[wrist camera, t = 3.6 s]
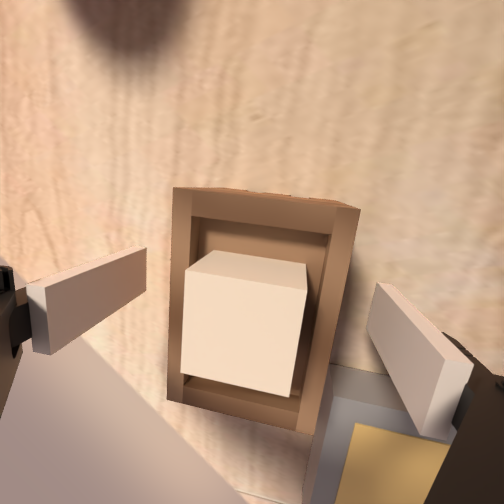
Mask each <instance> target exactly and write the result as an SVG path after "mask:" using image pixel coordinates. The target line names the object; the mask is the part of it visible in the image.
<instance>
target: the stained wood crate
mask: <svg viewBox="0 0 504 504" xmlns="http://www.w3.org/2000/svg"><path fill="white" fill-rule="evenodd" d="M360 211H361V209H358V208H355V207H352V206H349V205H347V204H344V203H341V202H338V201H334V200H326V199H317V198H309V199H307V198H299V197H291V195H282V194H273V193H255V192H248V191H247V190H238V189H229V188H182V187H173V204H172V238H171V272H170V305H169V339H168V372H167V400H170V401H174V402H179V403H183V404H187V405H191V406H195V407H199V408H203V409H207V410H211V411H215V412H219V413H223V414H227V415H231V416H236V417H240V418H244V419H248V420H252V421H256V422H260V423H264V424H268V425H272V426H276V427H280V428H284V429H289V430H293V431H297V432H301V433H305V434H309V435H313V436H314V431H315V427H316V422H317V417H318V412H319V407H320V403H321V398H322V393H323V388H324V383H325V379H326V374H327V369H328V364H329V360H330V355H331V350H332V345H333V340H334V336H335V331H336V326H337V321H338V316H339V312H340V307H341V302H342V297H343V292H344V288H345V283H346V278H347V273H348V269H349V264H350V259H351V254H352V249H353V245H354V240H355V235H356V230H357V225H358V221H359V216H360ZM213 250H218V251H224V252H231V253H237V254H244V255H250V256H257V257H264V258H270V259H277V260H283V261H290V262H296V263H303V264H306V276H307V295H306V301H305V307H304V313H303V319H302V324H301V330H300V336H299V342H298V348H297V353H296V359H295V365H294V371H293V377H292V382H291V388H290V394H289V397H285V396H280V395H276V394H272V393H267V392H263V391H258V390H254V389H250V388H245V387H241V386H237V385H232V384H228V383H223V382H219V381H215V380H210V379H206V378H202V377H197V376H193V375H189V374H184V373H180V371H181V350H182V328H183V307H184V285H185V270H186V269H187V268H189V267H190V266H192V265H193V264H195V263H196V262H197V261H199V260H200V259H202V258H203V257H205V256H206V255H207V254H209V253H210V252H212V251H213Z"/></svg>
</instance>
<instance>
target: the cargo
mask: <svg viewBox="0 0 504 504" xmlns="http://www.w3.org/2000/svg"><path fill="white" fill-rule="evenodd" d="M306 295H307V276H306V264H303V263H296V262H290V261H283V260H277V259H270V258H264V257H257V256H250V255H244V254H237V253H231V252H224V251H218V250H213V251H212V252H210V253H209V254H207V255H206V256H205V257H203V258H202V259H200V260H199V261H197V262H196V263H195V264H193V265H192V266H190V267H189V268H187V269H186V270H185V285H184V307H183V328H182V350H181V371H180V373H184V374H189V375H193V376H197V377H202V378H206V379H210V380H215V381H219V382H223V383H228V384H232V385H237V386H241V387H245V388H250V389H254V390H258V391H263V392H267V393H272V394H276V395H280V396H285V397H289V394H290V388H291V382H292V377H293V371H294V365H295V359H296V353H297V348H298V342H299V336H300V330H301V324H302V319H303V313H304V307H305V301H306Z"/></svg>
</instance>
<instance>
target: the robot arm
mask: <svg viewBox="0 0 504 504" xmlns="http://www.w3.org/2000/svg"><path fill="white" fill-rule="evenodd" d="M146 250H147V248H146V247H139V246H133V247H130V248H127V249H124V250H121V251H118V252H116V253H113V254H110V255H107V256H104V257H101V258H98V259H96V260H93V261H90V262H87V263H84V264H81V265H79V266H76V267H73V268H70V269H67V270H64V271H61V272H59V273H56V274H53V275H50V276H47V277H44V278H42V279H39V280H36V281H33V282H30V283H27V284H26V287H24V288H21V289H19V290H16V291H15V285H14V277H13V269H12V268H11V267H9V266H0V418H1V415H2V412H3V409H4V406H5V404H6V401H7V398H8V394H9V392H10V388H11V386H12V383H13V380H14V377H15V374H16V371H17V368H18V365H19V362H20V359H21V356H22V353H23V350H22V342H24V341H26V340H28V339H30V338H32V347H33V352H37V353H42V354H47V355H52V354H54V353H55V352H57V351H58V350H60V349H61V348H63V347H64V346H65V345H67V344H68V343H70V342H71V341H73V340H74V339H76V338H77V337H79V336H80V335H82V334H83V333H85V332H86V331H88V330H89V329H90V328H92V327H93V326H95V325H96V324H98V323H99V322H101V321H102V320H104V319H105V318H107V317H108V316H110V315H111V314H113V313H114V312H116V311H117V310H118V309H120V308H121V307H123V306H124V305H126V304H127V303H129V302H130V301H132V300H133V299H135V298H136V297H138V296H139V295H141V294H142V293H143V292H145V291H146ZM366 330H367V332H368V334H369V336H370V338H371V340H372V341H373V343H374V345H375V347H376V349H377V351H378V353H379V355H380V357H381V359H382V361H383V363H384V365H385V367H386V369H387V371H388V373H389V375H390V377H391V379H392V381H393V383H394V385H395V387H396V389H397V391H398V393H399V395H400V397H401V399H402V400H403V402H404V404H405V406H406V408H407V410H408V412H409V414H410V416H411V418H412V420H413V422H414V424H415V426H416V428H417V430H418V432H419V434H420V435H422V436H427V437H431V438H436V439H441V440H445V441H446V440H447V437H448V435H449V432H450V429H451V426H452V425H453V426H454V428H455V429H456V431H457V433H456V436H455V438H454V440H453V442H452V444H451V446H450V448H449V450H448V452H447V455H446V457H445V459H444V461H443V463H442V465H441V467H440V469H439V472H438V474H437V476H436V478H435V480H434V482H433V484H432V486H431V489H430V491H429V493H428V495H427V497H426V499H425V501H424V503H423V504H504V377H503V376H499V375H494V374H492V373H491V372H490V371H489V370H488V369H487V368H486V367H485V366H484V365H483V364H482V363H480V362H479V361H478V360H477V359H476V358H475V357H473V355H472V354H471V353H470V352H469V351H468V350H466V349H465V348H464V347H463V346H462V345H461V344H460V343H459V342H458V341H457V340H455V339H454V338H452V337H450V336H449V335H447V334H445V333H444V332H440V331H439V330H438V329H437V328H436V327H435V326H434V325H433V324H432V323H431V322H430V321H429V320H428V319H427V318H426V317H425V316H424V315H423V314H422V313H421V312H420V311H419V310H418V309H417V308H416V307H415V306H414V305H413V304H412V303H411V302H410V301H409V300H408V299H407V298H406V297H405V296H404V295H402V294H401V293H400V292H399V291H398V290H397V289H396V288H395V287H394V286H393V285H392V284H387V283H380V282H377V284H376V288H375V292H374V296H373V300H372V305H371V309H370V313H369V317H368V321H367V326H366Z"/></svg>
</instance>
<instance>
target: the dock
mask: <svg viewBox="0 0 504 504" xmlns="http://www.w3.org/2000/svg"><path fill="white" fill-rule="evenodd" d="M456 433H457V431H456V429H455V428H454V426H453V425H452V426H451V429H450V432H449V435H448V437H447V440H446V441H445V440H441V439H436V438H431V437H427V436H422V435H420V434H419V432H418V430H417V428H416V426H415V424H414V422H413V420H412V418H411V416H410V414H409V412H408V410H407V408H406V406H405V404H404V402H403V400H402V399H401V397H400V395H399V393H398V391H397V389H396V387H395V385H394V383H393V381H392V379H391V377H390V376H388V375H383V374H378V373H373V372H368V371H363V370H358V369H354V368H349V367H344V366H339V365H334V364H328V369H327V374H326V379H325V384H324V388H323V393H322V398H321V403H320V407H319V412H318V417H317V422H316V427H315V431H314V436H313V441H312V446H311V451H310V455H309V460H308V465H307V470H306V475H305V479H304V484H303V489H302V504H423V503H424V501H425V499H426V497H427V495H428V493H429V491H430V489H431V486H432V484H433V482H434V480H435V478H436V476H437V474H438V472H439V469H440V467H441V465H442V463H443V461H444V459H445V457H446V455H447V452H448V450H449V448H450V446H451V444H452V442H453V440H454V438H455V436H456Z"/></svg>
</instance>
